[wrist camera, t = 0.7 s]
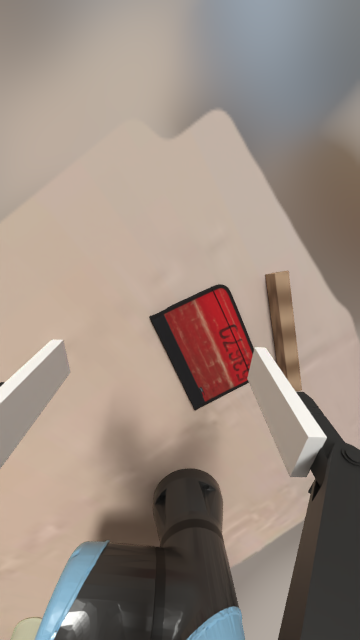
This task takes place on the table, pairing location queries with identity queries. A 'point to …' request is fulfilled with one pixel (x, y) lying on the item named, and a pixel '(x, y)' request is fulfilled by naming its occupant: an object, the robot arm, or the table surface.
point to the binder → (206, 344)
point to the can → (26, 629)
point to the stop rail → (284, 326)
